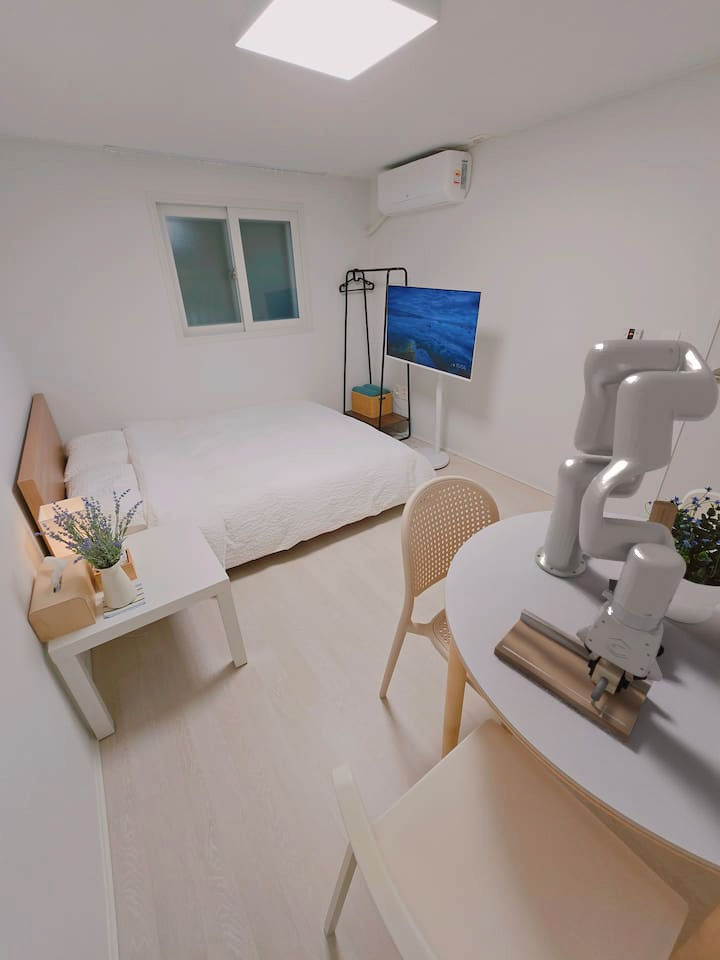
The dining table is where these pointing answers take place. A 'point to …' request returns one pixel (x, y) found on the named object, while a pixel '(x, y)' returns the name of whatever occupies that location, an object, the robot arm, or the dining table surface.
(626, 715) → the board
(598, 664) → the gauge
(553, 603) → the dining table surface
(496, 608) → the dining table surface
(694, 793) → the dining table surface
